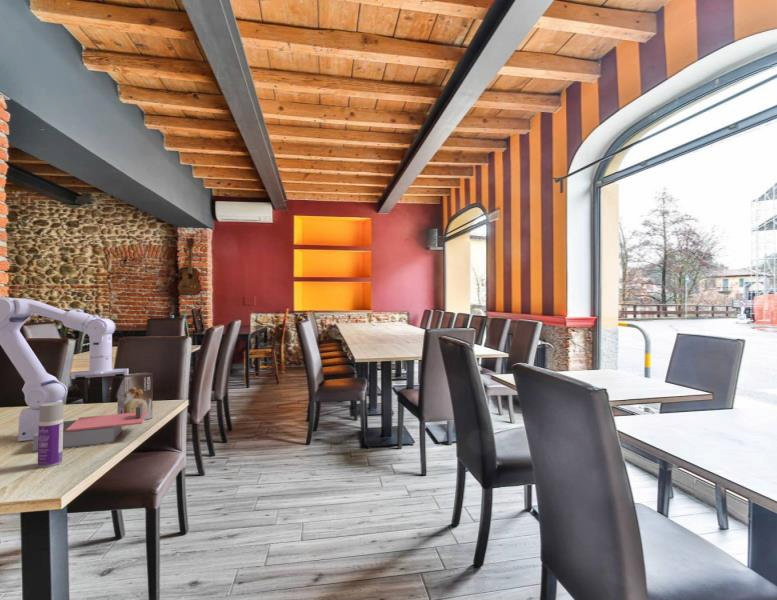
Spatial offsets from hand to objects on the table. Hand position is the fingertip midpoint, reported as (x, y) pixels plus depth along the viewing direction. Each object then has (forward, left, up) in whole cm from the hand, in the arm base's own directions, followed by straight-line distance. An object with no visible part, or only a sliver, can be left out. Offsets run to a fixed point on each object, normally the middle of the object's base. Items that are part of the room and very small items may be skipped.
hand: (100, 399), depth 122 cm
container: (-5, -25, -11) cm, 28 cm away
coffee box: (+8, +13, -11) cm, 19 cm away
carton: (-3, -6, -10) cm, 12 cm away
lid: (+4, -6, -6) cm, 9 cm away
